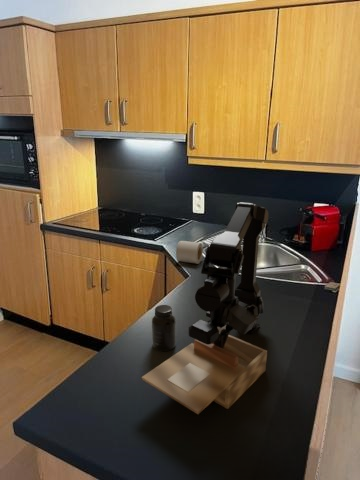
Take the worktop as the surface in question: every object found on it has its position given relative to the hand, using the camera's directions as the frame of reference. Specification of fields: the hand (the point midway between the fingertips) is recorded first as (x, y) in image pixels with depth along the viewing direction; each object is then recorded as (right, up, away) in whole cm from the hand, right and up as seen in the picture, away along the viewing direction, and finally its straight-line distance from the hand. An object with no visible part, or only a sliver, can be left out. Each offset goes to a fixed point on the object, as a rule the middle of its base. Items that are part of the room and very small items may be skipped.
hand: (219, 350), depth 89 cm
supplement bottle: (-15, -3, +15) cm, 22 cm away
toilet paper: (-5, +17, +83) cm, 85 cm away
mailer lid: (-7, -3, -7) cm, 10 cm away
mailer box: (+1, -7, +3) cm, 8 cm away
